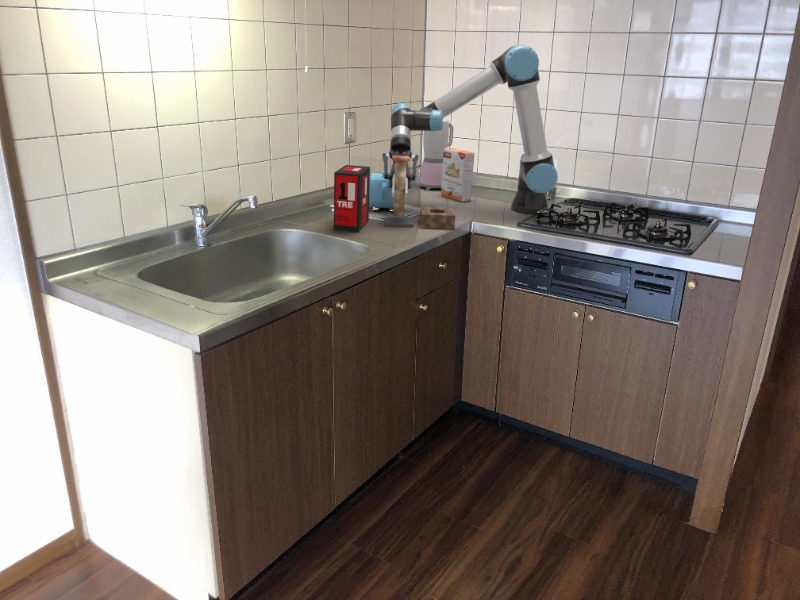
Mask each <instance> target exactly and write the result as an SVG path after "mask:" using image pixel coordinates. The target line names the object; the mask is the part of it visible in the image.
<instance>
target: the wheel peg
mask: <svg viewBox="0 0 800 600" xmlns="http://www.w3.org/2000/svg"><path fill="white" fill-rule="evenodd" d="M391 161H392V162H393V161H395V173H394V174H395V188H394V201H393V212H392V217H405V198H406V197H405V180H406V163H407V162H408V163H409V162H410V161H411V158H410V157H409V156H402V155H395V156H392V159H391Z"/></svg>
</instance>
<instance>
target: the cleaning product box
mask: <svg viewBox="0 0 800 600" xmlns="http://www.w3.org/2000/svg"><path fill="white" fill-rule="evenodd" d="M333 172H334V171H333ZM370 177H371V167H370V166H368V165H367V166H364V165H353V164H351V165H350V164H345V165H343V166H342V167H340V168H338V170H336V171H335V172H334V174H333V231H336V232H337V231H338V232H349V233H350V232H351V233H352V232H353V233H360V232H361V230H362V229H363V228H364V227H365V226H366V224H368V222H369V221H370V220H369V219H370V216H369V215H370V213H369V211H370V207H369V189H370Z"/></svg>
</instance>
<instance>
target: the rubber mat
mask: <svg viewBox="0 0 800 600" xmlns="http://www.w3.org/2000/svg"><path fill="white" fill-rule="evenodd" d="M384 226H385V227H399V228H400V227H403V228H413V227H414V223H413V218H412V217H409V216H408V217H405V216H402V217H397V216H384Z"/></svg>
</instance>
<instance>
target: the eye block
mask: <svg viewBox="0 0 800 600" xmlns="http://www.w3.org/2000/svg"><path fill="white" fill-rule="evenodd" d="M419 224H420V228H421V229H436V230H438V229H439V230H455V229H456V228H455V224H456V214H455V212H454V209H453V208H452V207H438V206H437V207H435V206H434V207H431V206H420V207H419Z"/></svg>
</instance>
